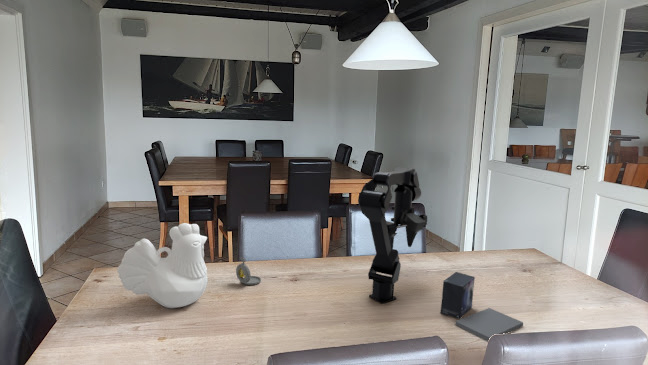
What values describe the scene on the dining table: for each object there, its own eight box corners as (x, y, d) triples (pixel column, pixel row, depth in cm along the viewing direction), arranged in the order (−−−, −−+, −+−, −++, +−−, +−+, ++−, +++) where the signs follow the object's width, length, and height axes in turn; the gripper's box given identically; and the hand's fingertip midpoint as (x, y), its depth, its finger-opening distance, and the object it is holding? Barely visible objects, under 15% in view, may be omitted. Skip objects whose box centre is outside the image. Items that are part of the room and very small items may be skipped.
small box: (460, 320, 127) (463, 286, 125) (439, 313, 131) (442, 280, 129) (473, 308, 136) (475, 276, 134) (452, 302, 139) (455, 271, 138)
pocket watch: (262, 279, 154) (262, 252, 152) (256, 288, 146) (256, 259, 144) (240, 277, 155) (240, 250, 153) (233, 287, 147) (232, 258, 145)
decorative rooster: (207, 289, 144) (206, 215, 140) (209, 309, 130) (208, 228, 126) (125, 296, 137) (121, 219, 133) (117, 319, 122) (112, 233, 118)
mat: (489, 342, 115) (489, 337, 115) (455, 325, 124) (455, 321, 124) (522, 326, 125) (523, 322, 124) (488, 311, 133) (489, 307, 133)
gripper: (401, 211, 137) (398, 259, 139) (439, 206, 148) (436, 250, 150) (376, 205, 145) (374, 250, 148) (414, 200, 156) (412, 242, 159)
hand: (400, 248), depth 151 cm, fingers open, 9 cm apart
